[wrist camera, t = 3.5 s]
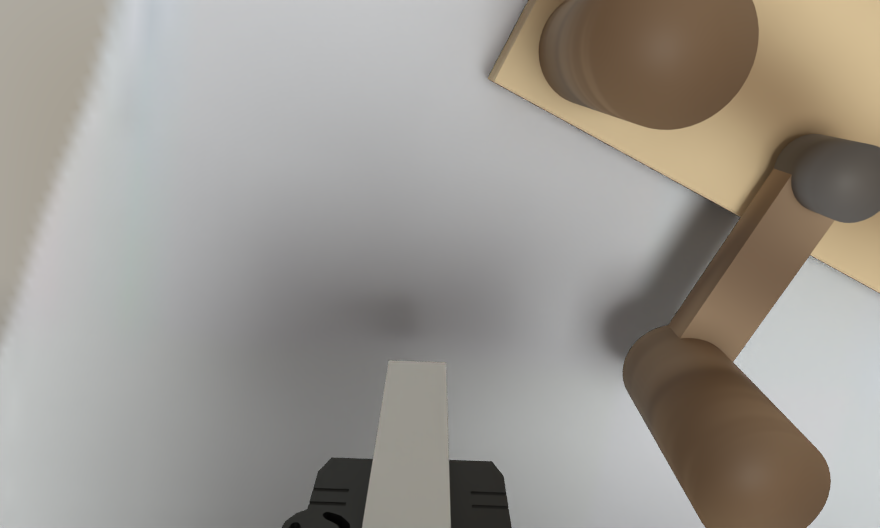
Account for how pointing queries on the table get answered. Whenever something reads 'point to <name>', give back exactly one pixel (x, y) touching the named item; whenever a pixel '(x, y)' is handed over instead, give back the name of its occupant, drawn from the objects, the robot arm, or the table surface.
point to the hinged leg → (726, 333)
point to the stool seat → (710, 90)
